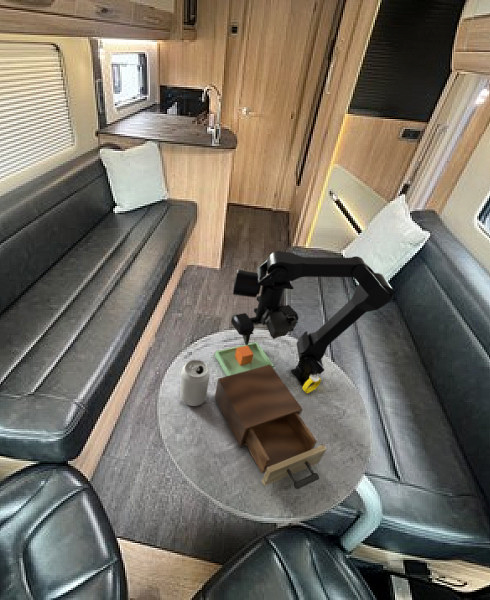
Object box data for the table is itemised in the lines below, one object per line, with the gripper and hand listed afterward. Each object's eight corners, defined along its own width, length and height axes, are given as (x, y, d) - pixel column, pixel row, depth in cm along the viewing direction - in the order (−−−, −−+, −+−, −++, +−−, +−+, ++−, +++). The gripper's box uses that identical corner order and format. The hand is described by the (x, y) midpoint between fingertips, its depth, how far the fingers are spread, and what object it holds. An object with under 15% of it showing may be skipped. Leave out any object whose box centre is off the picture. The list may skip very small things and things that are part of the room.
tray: (255, 345, 110) (256, 341, 109) (272, 369, 102) (274, 365, 100) (214, 355, 104) (215, 351, 103) (230, 381, 96) (231, 377, 95)
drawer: (330, 480, 75) (339, 466, 71) (274, 505, 69) (281, 492, 65) (284, 413, 88) (290, 398, 84) (235, 430, 82) (239, 415, 79)
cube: (245, 354, 105) (247, 345, 103) (251, 362, 102) (253, 354, 100) (234, 356, 104) (236, 348, 102) (240, 365, 101) (242, 356, 99)
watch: (312, 383, 99) (318, 370, 95) (319, 390, 97) (325, 377, 94) (298, 390, 96) (304, 377, 93) (305, 397, 94) (311, 384, 91)
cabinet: (294, 427, 86) (302, 408, 81) (239, 447, 80) (245, 428, 75) (264, 382, 97) (270, 364, 92) (214, 397, 91) (217, 378, 86)
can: (203, 410, 87) (207, 381, 80) (176, 404, 88) (178, 375, 81) (208, 389, 93) (213, 360, 86) (183, 383, 94) (186, 354, 87)
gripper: (254, 323, 76) (244, 368, 85) (317, 310, 83) (302, 353, 92) (234, 296, 84) (226, 340, 93) (293, 286, 91) (280, 328, 100)
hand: (259, 341), depth 94 cm, fingers open, 9 cm apart
